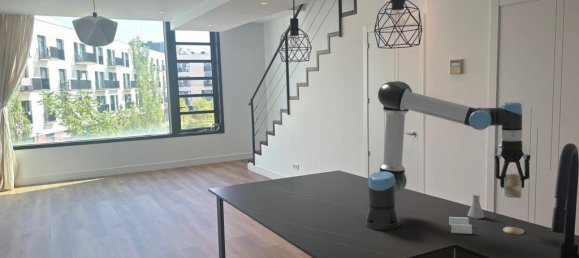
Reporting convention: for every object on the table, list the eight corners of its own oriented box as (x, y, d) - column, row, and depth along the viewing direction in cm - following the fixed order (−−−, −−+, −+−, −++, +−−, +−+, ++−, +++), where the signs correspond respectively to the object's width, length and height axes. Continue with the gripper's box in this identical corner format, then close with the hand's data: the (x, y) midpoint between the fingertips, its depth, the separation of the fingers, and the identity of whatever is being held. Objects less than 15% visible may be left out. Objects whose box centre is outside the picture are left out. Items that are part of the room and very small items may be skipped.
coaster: (505, 234, 180) (505, 232, 180) (501, 227, 188) (501, 226, 188) (526, 235, 178) (526, 233, 178) (521, 228, 186) (521, 227, 186)
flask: (474, 219, 200) (474, 198, 199) (464, 215, 207) (464, 194, 206) (487, 218, 202) (488, 196, 201) (477, 213, 209) (477, 193, 208)
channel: (451, 232, 185) (451, 224, 184) (449, 224, 195) (449, 216, 195) (471, 233, 182) (471, 225, 182) (468, 225, 193) (468, 217, 193)
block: (507, 197, 180) (506, 176, 179) (504, 194, 185) (504, 173, 184) (520, 197, 178) (520, 176, 178) (517, 194, 183) (517, 173, 182)
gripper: (489, 141, 178) (490, 197, 181) (538, 140, 173) (538, 198, 176) (486, 139, 186) (487, 192, 188) (533, 138, 181) (533, 193, 183)
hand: (512, 195), depth 182 cm, fingers closed on block, 5 cm apart
